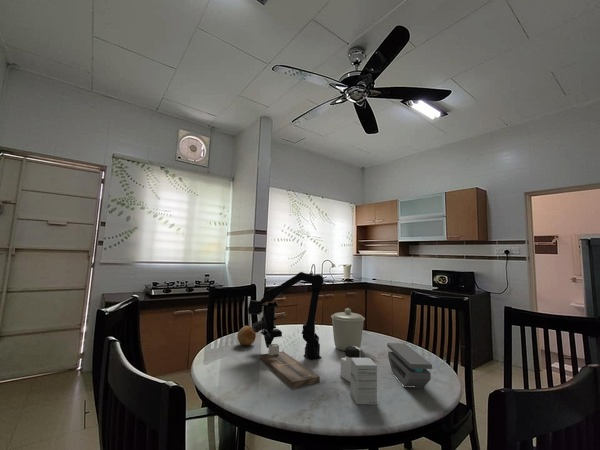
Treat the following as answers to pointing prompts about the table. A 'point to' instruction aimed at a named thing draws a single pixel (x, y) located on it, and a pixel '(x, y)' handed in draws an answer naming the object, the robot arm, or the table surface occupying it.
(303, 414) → the table surface
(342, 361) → the medicine bottle
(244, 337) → the onion
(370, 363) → the supplement box
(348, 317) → the canister
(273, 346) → the fader tab
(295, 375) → the board
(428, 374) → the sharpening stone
